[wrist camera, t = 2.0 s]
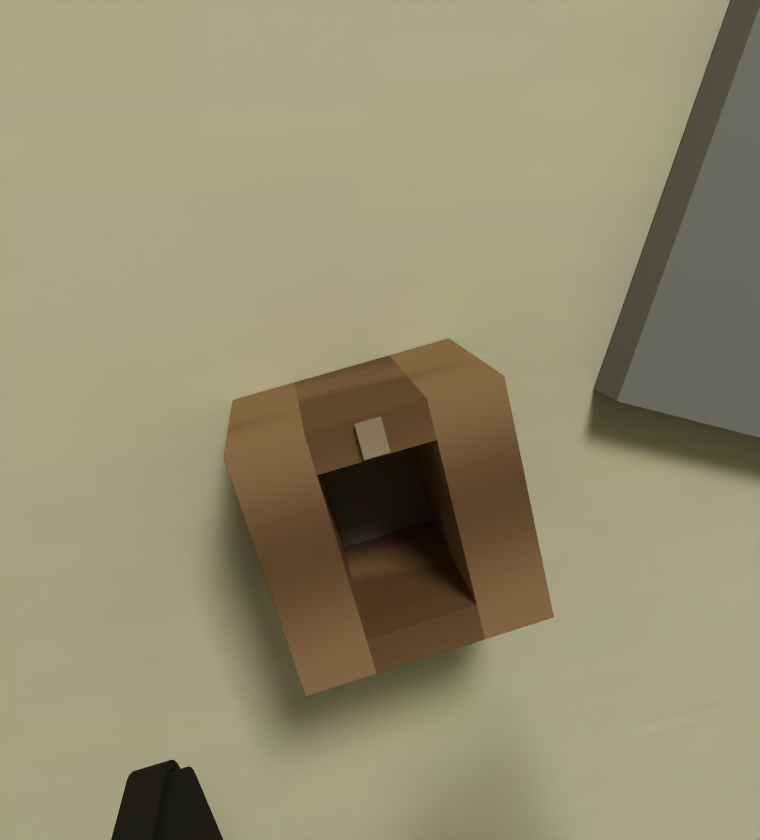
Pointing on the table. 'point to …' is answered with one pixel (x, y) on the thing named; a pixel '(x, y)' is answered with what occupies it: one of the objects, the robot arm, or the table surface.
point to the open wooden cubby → (401, 551)
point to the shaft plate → (702, 257)
